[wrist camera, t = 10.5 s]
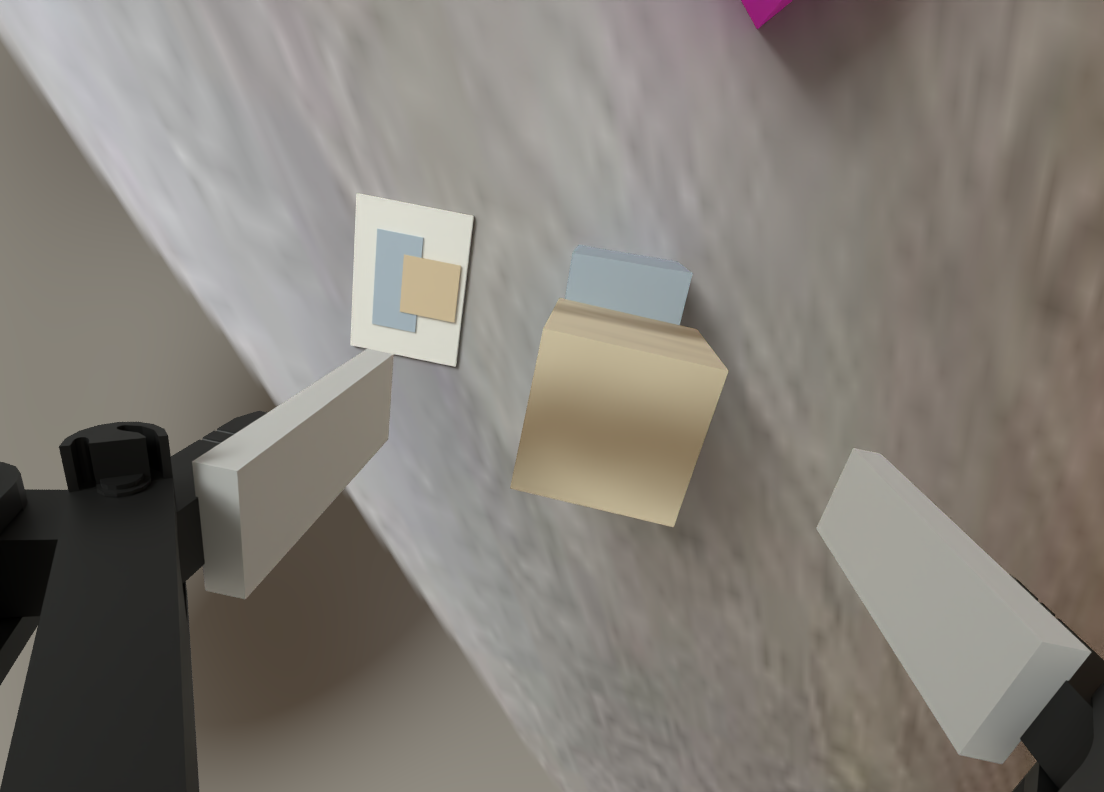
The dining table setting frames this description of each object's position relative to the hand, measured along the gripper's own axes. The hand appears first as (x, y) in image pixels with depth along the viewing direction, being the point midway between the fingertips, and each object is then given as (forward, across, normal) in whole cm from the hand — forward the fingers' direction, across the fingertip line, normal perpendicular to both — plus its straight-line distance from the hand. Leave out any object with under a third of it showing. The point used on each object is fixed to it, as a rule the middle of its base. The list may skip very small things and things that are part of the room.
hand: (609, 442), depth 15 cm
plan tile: (+13, -11, 0) cm, 17 cm away
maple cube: (+8, 0, -1) cm, 9 cm away
